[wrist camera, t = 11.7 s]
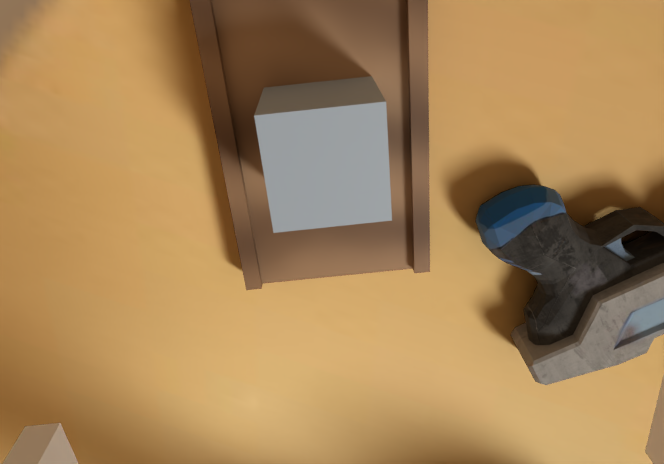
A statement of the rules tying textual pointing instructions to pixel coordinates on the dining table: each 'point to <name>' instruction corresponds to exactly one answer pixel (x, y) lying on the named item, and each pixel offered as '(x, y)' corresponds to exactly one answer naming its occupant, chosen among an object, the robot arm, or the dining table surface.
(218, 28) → the board
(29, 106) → the dining table surface
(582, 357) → the ray gun
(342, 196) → the cube
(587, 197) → the dining table surface
